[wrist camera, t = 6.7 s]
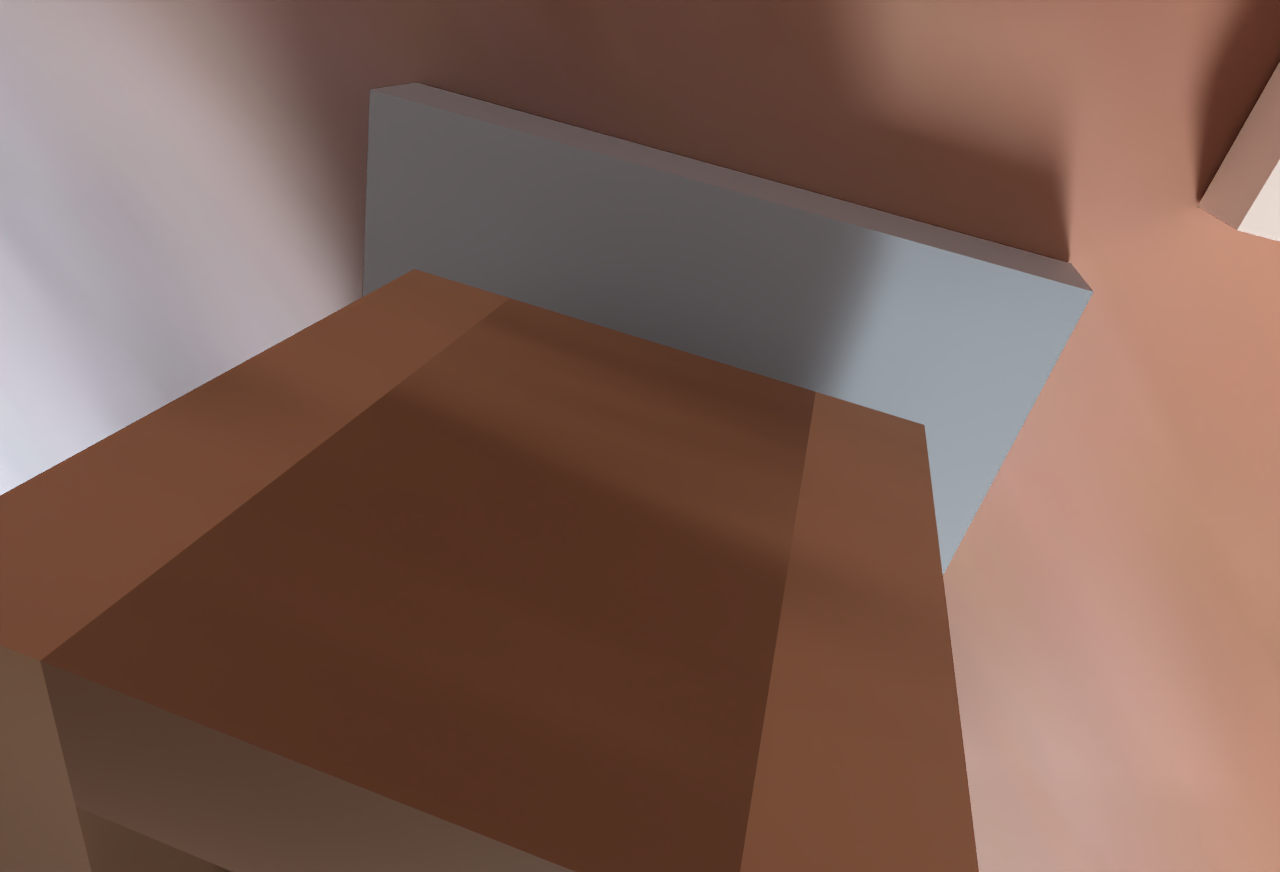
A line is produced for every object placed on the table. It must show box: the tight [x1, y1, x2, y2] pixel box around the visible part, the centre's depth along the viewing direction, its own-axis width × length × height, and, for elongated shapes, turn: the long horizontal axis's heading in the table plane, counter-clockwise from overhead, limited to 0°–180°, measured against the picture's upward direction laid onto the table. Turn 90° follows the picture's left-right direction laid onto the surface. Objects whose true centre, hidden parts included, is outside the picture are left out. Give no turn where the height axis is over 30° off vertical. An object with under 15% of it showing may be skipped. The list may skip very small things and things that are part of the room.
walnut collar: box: [0, 269, 979, 872], centre depth 8 cm, size 6×6×6 cm
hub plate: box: [362, 82, 1093, 575], centre depth 10 cm, size 9×9×6 cm
